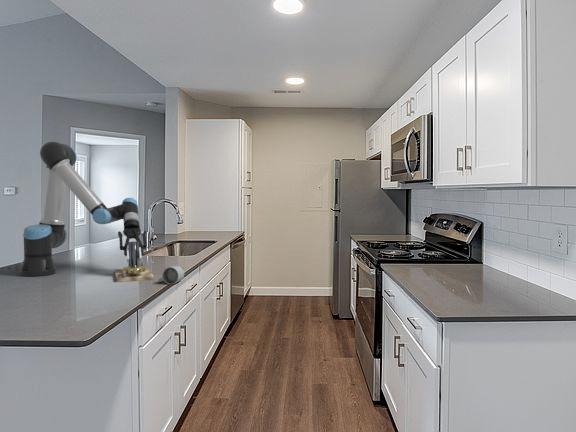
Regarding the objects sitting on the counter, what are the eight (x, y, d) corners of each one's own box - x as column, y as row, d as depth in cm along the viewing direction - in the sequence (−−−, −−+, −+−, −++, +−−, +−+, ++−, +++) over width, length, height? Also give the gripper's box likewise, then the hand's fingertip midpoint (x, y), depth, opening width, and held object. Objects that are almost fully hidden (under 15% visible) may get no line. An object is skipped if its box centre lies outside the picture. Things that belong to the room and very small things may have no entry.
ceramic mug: (185, 281, 195) (185, 264, 195) (178, 284, 187) (178, 267, 186) (163, 280, 196) (163, 263, 196) (155, 284, 188) (155, 266, 188)
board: (116, 282, 191) (116, 272, 190) (114, 272, 213) (114, 263, 213) (154, 279, 197) (154, 269, 197) (148, 270, 220) (148, 261, 220)
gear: (123, 278, 192) (123, 267, 192) (122, 274, 202) (122, 264, 201) (147, 276, 196) (147, 266, 196) (145, 272, 206) (145, 263, 206)
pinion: (128, 267, 204) (128, 242, 203) (128, 266, 208) (127, 241, 208) (139, 267, 206) (139, 242, 205) (138, 265, 210) (138, 241, 210)
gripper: (149, 227, 224) (153, 263, 210) (112, 228, 216) (114, 265, 202) (150, 218, 219) (154, 254, 204) (112, 218, 211) (114, 256, 197)
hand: (134, 260), depth 203 cm, fingers closed on pinion, 5 cm apart
